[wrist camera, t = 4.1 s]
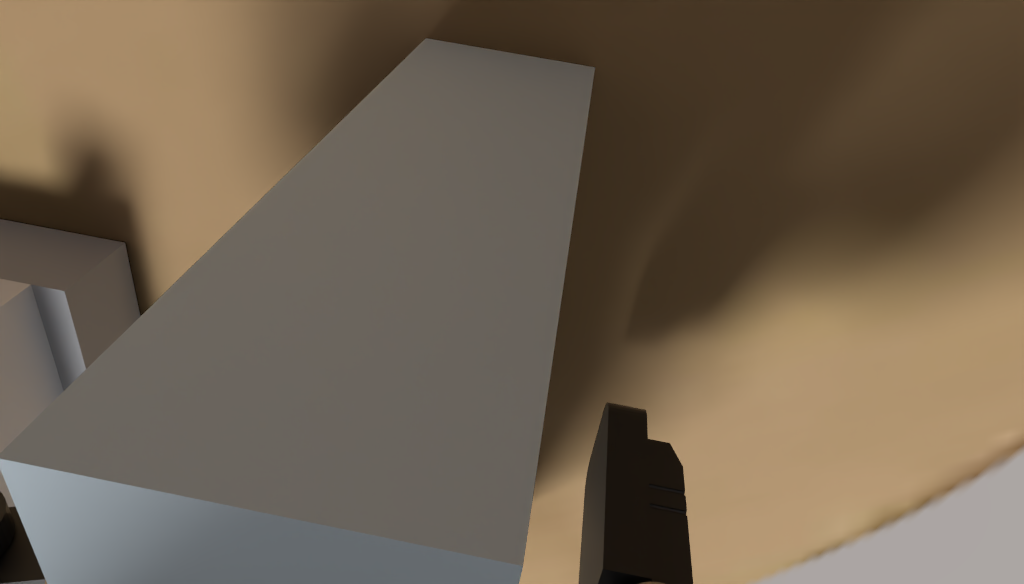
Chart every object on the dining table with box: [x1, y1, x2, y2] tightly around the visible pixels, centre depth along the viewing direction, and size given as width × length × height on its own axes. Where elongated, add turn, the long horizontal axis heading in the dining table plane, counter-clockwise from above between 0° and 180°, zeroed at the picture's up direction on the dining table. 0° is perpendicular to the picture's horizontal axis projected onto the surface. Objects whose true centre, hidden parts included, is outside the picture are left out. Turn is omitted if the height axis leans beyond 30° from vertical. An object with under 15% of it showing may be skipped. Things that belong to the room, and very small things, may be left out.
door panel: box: [0, 38, 595, 584], centre depth 11 cm, size 12×3×10 cm, turn 173°
